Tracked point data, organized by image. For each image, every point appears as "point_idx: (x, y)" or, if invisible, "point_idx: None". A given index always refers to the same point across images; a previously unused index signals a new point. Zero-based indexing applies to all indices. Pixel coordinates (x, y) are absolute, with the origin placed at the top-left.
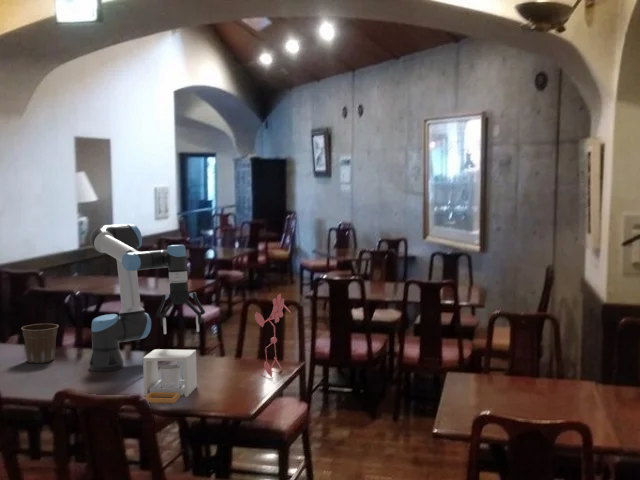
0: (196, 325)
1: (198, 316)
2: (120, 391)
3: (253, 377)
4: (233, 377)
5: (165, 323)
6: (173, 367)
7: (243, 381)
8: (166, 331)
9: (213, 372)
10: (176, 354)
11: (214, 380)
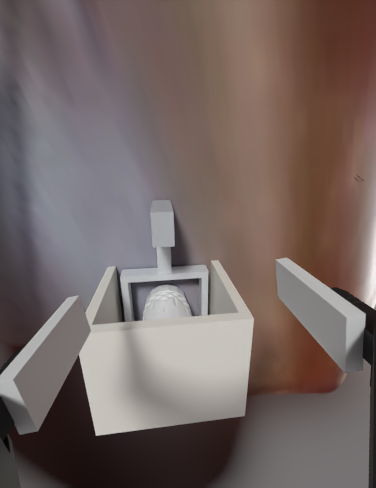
0: (299, 320)
1: (366, 352)
2: (41, 320)
3: (358, 176)
4: (302, 166)
5: (54, 363)
6: (168, 315)
7: (329, 204)
8: (75, 301)
9: (236, 109)
10: (197, 385)
11: (253, 202)
